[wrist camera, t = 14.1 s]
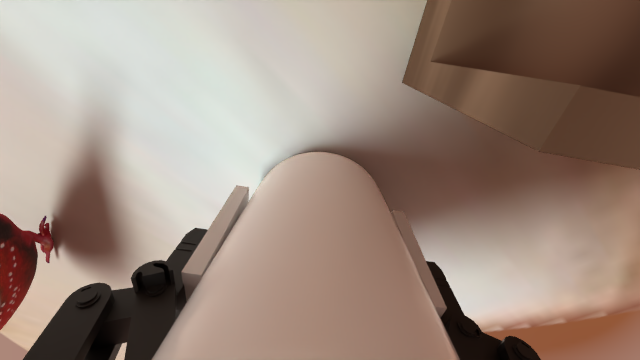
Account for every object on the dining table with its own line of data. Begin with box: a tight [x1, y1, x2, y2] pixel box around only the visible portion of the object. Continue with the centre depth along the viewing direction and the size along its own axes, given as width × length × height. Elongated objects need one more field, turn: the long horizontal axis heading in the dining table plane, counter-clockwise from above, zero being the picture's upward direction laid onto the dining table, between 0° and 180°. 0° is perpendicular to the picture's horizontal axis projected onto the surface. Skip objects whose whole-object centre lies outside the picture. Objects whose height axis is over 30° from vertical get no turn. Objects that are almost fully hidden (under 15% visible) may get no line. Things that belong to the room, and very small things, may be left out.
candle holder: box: [151, 152, 460, 360], centre depth 12 cm, size 10×10×12 cm
